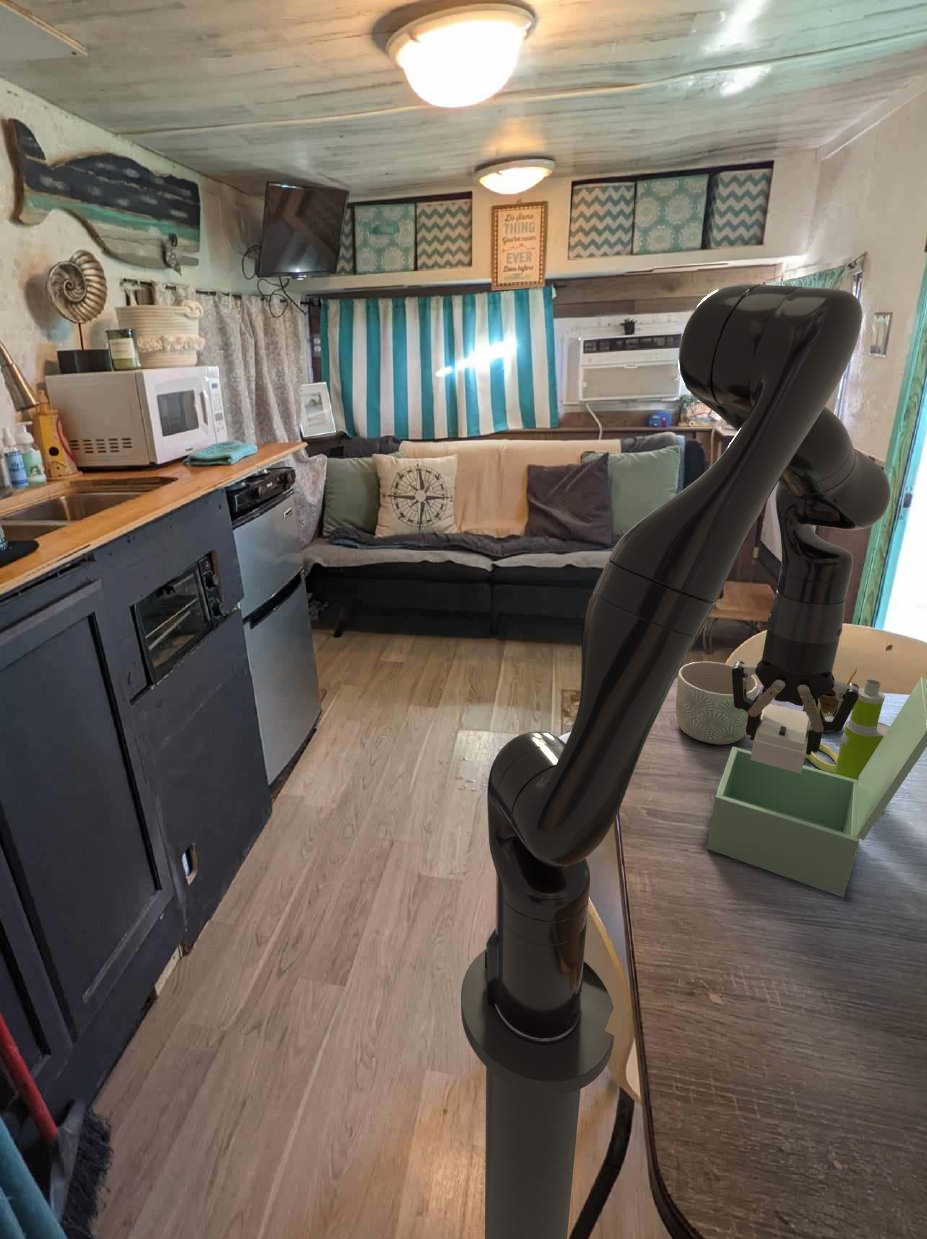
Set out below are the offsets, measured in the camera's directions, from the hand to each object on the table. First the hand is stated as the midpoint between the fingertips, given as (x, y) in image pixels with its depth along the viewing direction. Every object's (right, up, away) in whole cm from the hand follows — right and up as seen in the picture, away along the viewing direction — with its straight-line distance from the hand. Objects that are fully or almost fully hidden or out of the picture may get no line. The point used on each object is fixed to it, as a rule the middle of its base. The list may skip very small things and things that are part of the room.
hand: (780, 744), depth 84 cm
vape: (+18, -11, +11) cm, 24 cm away
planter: (+6, -5, +30) cm, 31 cm away
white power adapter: (0, 0, 0) cm, 0 cm away
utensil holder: (+26, -4, +30) cm, 39 cm away
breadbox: (+2, -14, +4) cm, 15 cm away
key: (+17, -7, +21) cm, 28 cm away
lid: (+9, 0, -7) cm, 11 cm away
